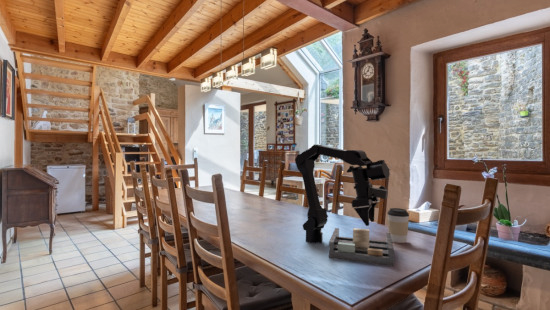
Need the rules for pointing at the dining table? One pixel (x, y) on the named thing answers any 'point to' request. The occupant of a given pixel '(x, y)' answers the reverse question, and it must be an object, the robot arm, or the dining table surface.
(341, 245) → the offcut
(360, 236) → the birch panel
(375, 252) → the offcut
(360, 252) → the rack
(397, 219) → the coffee cup
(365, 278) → the dining table surface
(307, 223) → the robot arm
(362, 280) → the dining table surface
